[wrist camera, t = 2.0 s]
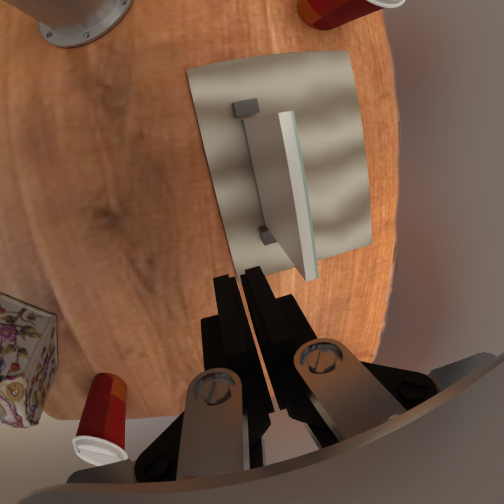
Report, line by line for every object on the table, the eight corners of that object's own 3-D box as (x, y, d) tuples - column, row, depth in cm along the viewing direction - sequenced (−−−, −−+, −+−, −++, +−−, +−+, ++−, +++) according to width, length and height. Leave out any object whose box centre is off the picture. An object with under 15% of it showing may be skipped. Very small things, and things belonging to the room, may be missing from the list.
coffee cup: (84, 388, 41) (69, 457, 28) (92, 361, 39) (73, 437, 26) (127, 404, 44) (120, 473, 31) (139, 379, 42) (133, 457, 29)
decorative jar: (5, 343, 35) (-33, 418, 19) (-2, 289, 31) (-59, 366, 15) (61, 366, 39) (33, 452, 22) (59, 314, 35) (15, 408, 19)
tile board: (186, 71, 27) (185, 65, 24) (343, 52, 28) (356, 47, 25) (237, 278, 38) (241, 291, 35) (367, 240, 39) (379, 249, 37)
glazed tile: (240, 120, 29) (276, 113, 16) (251, 118, 29) (295, 110, 16) (262, 222, 34) (304, 282, 21) (272, 220, 34) (319, 277, 21)
